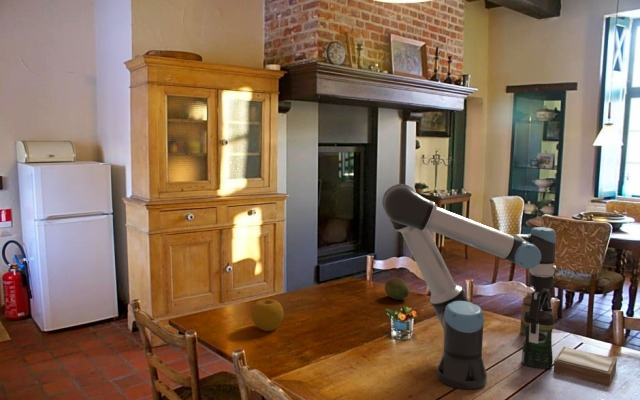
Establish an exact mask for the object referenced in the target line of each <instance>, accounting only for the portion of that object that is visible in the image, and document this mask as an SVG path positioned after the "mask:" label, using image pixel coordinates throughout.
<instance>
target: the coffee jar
mask: <svg viewBox="0 0 640 400" xmlns="http://www.w3.org/2000/svg"><path fill="white" fill-rule="evenodd" d="M529 311H530V309H527V310H526V311H525V316H524V319H523V323H524V326H525V336H524V339H523V345H522V352H521V362H522V364H524V365H525V366H528V367H533V368H539V369H550V368H552V367H553V364H554V359H553V358H554V357H553V347H552V346H553V343H552V338H553V337H552V335H553V330H554V328H555V319H554V318H555V317H554V313H553V311H552V312H548V311H543V310H541V312H540V316H539V321H538V324H539V337H538V344H537V343H532V342H529V327H530V323H527V320H528V317H529ZM532 320H534V319H532Z"/></svg>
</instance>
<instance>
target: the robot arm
mask: <svg viewBox="0 0 640 400" xmlns="http://www.w3.org/2000/svg"><path fill="white" fill-rule="evenodd" d="M382 207H383V209H384V212H385V213H386V215H387V217H388V219H389V221H390V223H391V224H392V227H393V229H394V231H396V232H399V233H401V234H402V238H403V239H404V240H405V243H406V245H407V246H408V249H409V251H410V253H411V256H412V257H413V260H414V261H415V263H416V266H417V267H418V269H419V271H420V273H421V276H422V277H423V279H424V282H425V283H426V285H427V287H428V289H429V292H430V293H431V296H430V299H429V301H430V304H431V306H432V307H433V310H434V311H435V314H436V316H437V318H438V320H439V321H440V325H441V326H442V328H443V352H442V355H441V358H440V361H439V364H438V365H437V370H436V377H437V379H438V380H439V381H440V382H441V383H442V384H444V385H446V386H448V387H451V388H453V389H454V388H455V389H458V390H459V389H460V390H478V389H481V388H483V387H484V386H486V384H487V377H488V375H487V374H488V373H487V371H486V367H485V364H484V360H483V340H484V337H483V336H484V323H485V318H484V311H483V309H482V308H481V307H480V306H479V305H478V304H474V303H473V302H470V301H469V299H468V297H467V295H466V293H465V291H464V289H463V286H462V285H459V284H457V283H455V281H454V279H453V277H452V275H451V273H450V270H449V268H448V266H447V264H446V262H445V260H444V258H443V256H442V254H441V252H440V250H439V248H438V246H437V244H436V242H435V239H434V238H433V236H432V234H431V232H430V231H432V232H433V233H436V234H439V235H441V236H443V237H446V238H449V239H452V240H454V241H457V242H459V243H462V244H464V245H468V246H470V247H472V248H476V249H477V250H480V251H484V252H486V253H488V254H491V255H494V256H495V257H498V258H501V259H504V260H506V261H509V262H511V263H512V264H513V263H514V264H515V265H517V266H519V267H520V268H523V269H528V270H529V273H530V274H529V275H528V276H529V277H528V284H529V286H531V287H533V288H535V289H534V291H532V298H531V305H530V311H529V317H528V320H527V323H530V327H529V342H532V343H537V344H538V337H539V324H538V321H539V316H540V312H541V311H548V312H552V313H553V308H552V299H551V288H553V287H554V285H555V276H554V275H555V270H556V269H557V266H556V265H555V263H556V247H557V246H556V244H557V235H556V234H557V233H556V230H555V229H553V228H550V227H542V226H541V227H539V226H538V227H532V228H531V230H530V233H523V234H522V233H506V232H503V231H500V230H498V229H496V228H493V227H490V226H487V225H485V224H482V223H480V222H478V221H475V220H473V219H469V218H467V217H464V216H462V215H460V214H457V213H455V212H451V211H449V210H446V209H445V208H441V207H438V206H437V205H436V203H435V202H434V201H432V200H430V199H427V198H425V197H423V196H421V195H420V194H419V193H417V192H416V191H415V190H414V188H412V186H409V185H408V184H404V183H397V184H395V185H392V186H390V187H389V188H388V189H387V190H386V191H385V192H384V193H383V196H382ZM532 319H534V320H532Z"/></svg>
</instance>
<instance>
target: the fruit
mask: <svg viewBox="0 0 640 400" xmlns="http://www.w3.org/2000/svg"><path fill="white" fill-rule="evenodd" d="M384 291H385V293H386V295H387V296H388V297H390V298H391V299H394V300H396V301H401V300H404V299H406V298H407V297H408V296H409V286H408V284H407V282H406V281H405V280H404V279H402V278H400V277H398V276H397V277H396V276H393V277H390V278H389V279H387V280H386V282H385V284H384Z"/></svg>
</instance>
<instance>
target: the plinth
mask: <svg viewBox="0 0 640 400" xmlns="http://www.w3.org/2000/svg"><path fill="white" fill-rule="evenodd" d="M616 369H617V358H614V357H610V356H606V355H603V354H598V353H592V352H590V351H589V352H588V351H583V350H580V349H576V348H570V347H567V346H563V347H562V349H561V350H560V351H559V353H558V355H557V356H556V357H555V359H553V373H557V374H559V375H564V376H568V377H571V378H575V379H579V380H583V381H587V382H590V383H594V384H597V385H598V384H599V385H602V386H606V387H610V386H611V384H612V380H613V378H614V376H615V373H616V371H617V370H616Z"/></svg>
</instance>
